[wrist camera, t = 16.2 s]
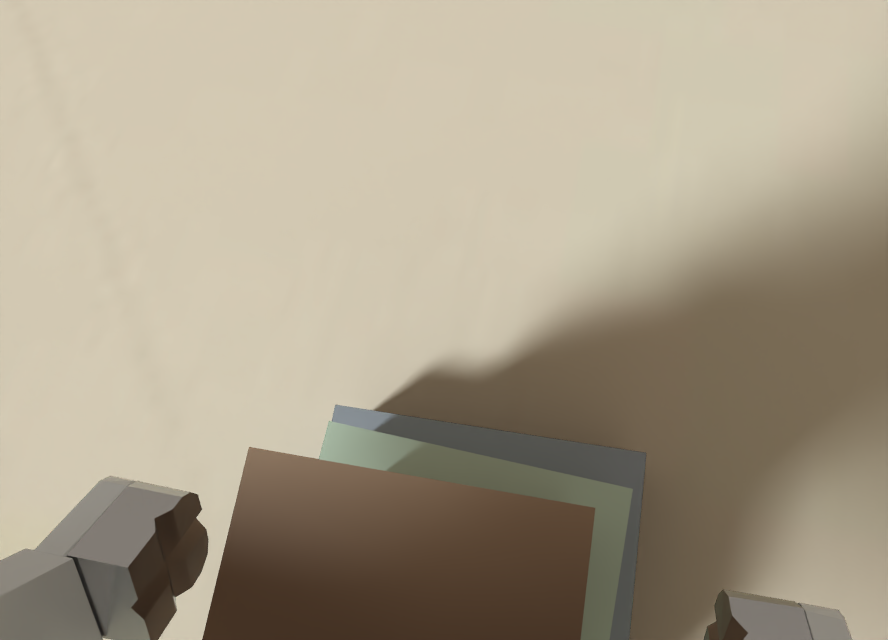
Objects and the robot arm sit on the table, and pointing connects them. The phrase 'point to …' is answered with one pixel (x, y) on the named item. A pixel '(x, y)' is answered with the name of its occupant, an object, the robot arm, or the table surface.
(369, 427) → the tower base
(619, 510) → the tower top
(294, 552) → the walnut block
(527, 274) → the table surface
